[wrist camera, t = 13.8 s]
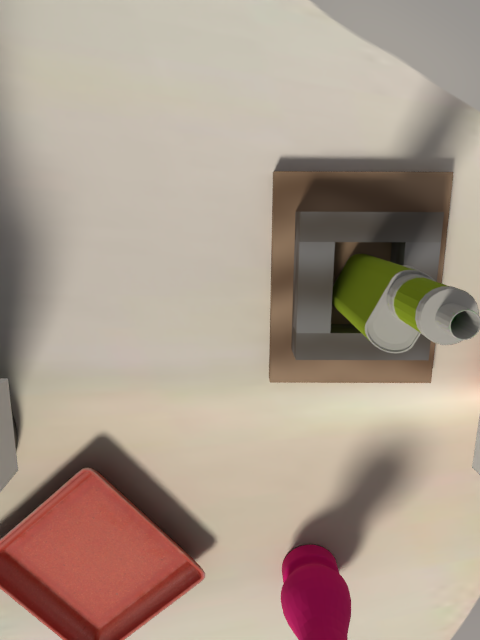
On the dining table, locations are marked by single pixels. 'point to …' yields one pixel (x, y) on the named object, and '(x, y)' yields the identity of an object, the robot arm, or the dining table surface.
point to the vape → (402, 305)
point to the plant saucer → (93, 563)
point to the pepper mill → (315, 595)
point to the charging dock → (329, 259)
